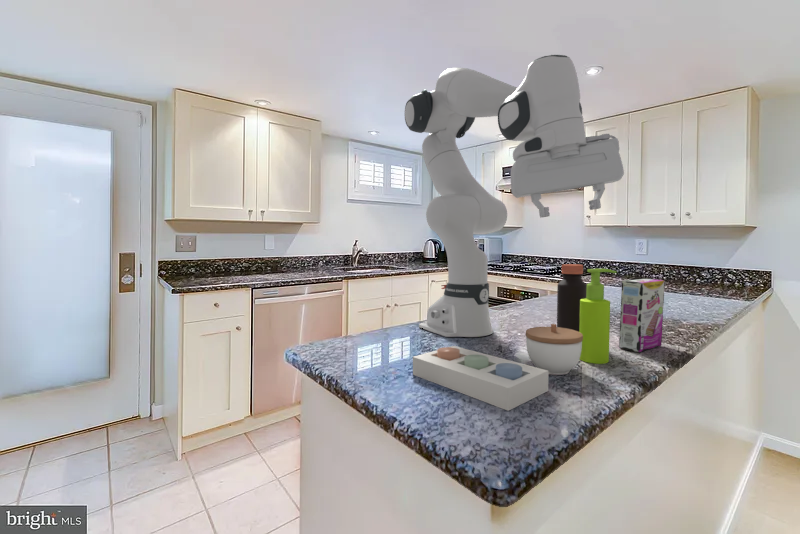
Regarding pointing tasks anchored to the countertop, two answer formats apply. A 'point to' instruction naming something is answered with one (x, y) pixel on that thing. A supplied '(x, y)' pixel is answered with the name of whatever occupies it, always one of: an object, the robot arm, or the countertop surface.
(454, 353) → the button terracotta
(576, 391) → the countertop surface
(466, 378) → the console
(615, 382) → the countertop surface
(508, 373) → the button slate
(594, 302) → the soap dispenser
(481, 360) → the button sage
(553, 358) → the lidded jar
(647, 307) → the candy bar box
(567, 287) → the bottle
